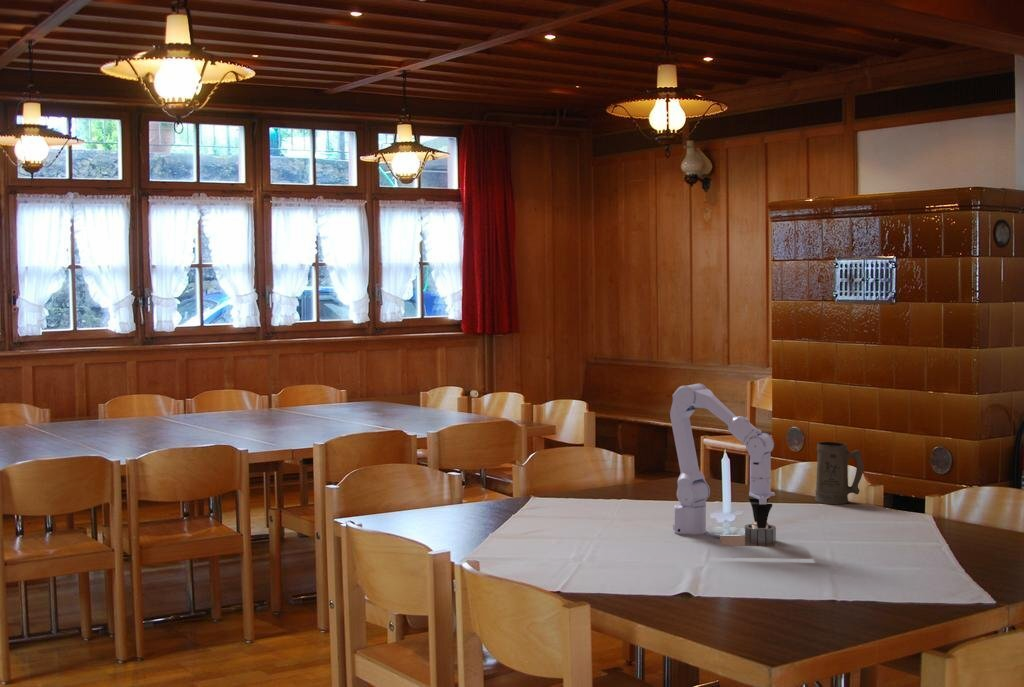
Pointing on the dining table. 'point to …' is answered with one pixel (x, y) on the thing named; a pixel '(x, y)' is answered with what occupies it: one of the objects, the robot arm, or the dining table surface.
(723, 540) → the peg hole base
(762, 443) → the robot arm
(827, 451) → the beer stein
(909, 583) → the dining table surface
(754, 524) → the cylindrical peg
